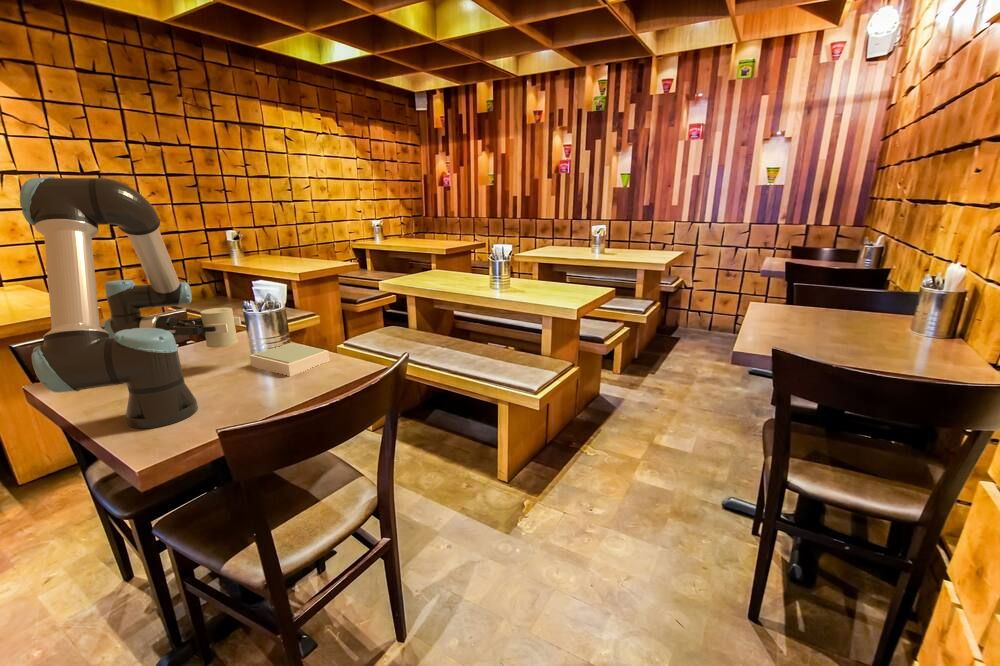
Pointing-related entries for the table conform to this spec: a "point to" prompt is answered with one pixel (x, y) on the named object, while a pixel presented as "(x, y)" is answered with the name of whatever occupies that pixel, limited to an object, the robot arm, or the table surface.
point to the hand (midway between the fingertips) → (233, 324)
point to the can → (220, 318)
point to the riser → (289, 359)
